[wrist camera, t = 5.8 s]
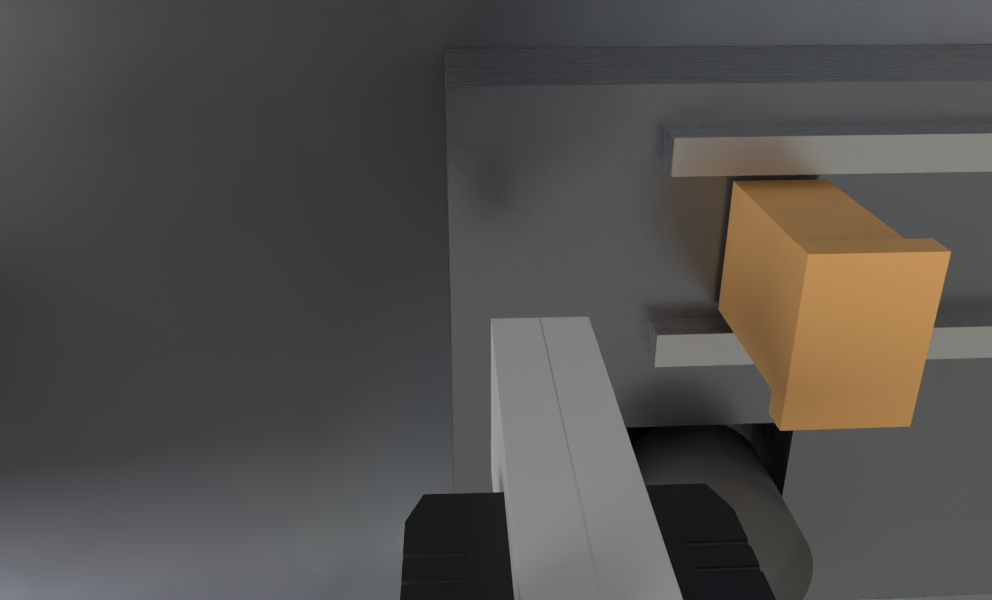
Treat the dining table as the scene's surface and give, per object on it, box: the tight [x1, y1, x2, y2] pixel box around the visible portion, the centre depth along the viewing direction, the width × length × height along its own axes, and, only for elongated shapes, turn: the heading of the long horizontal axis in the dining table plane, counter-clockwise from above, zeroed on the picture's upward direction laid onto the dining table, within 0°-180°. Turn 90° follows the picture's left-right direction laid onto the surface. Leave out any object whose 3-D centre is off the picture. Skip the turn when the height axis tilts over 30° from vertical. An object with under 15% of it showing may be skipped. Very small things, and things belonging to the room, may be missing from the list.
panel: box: [444, 44, 992, 600], centre depth 23 cm, size 24×14×5 cm, turn 90°
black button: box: [632, 424, 813, 600], centre depth 22 cm, size 4×4×4 cm
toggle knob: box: [718, 179, 951, 431], centre depth 17 cm, size 2×3×5 cm
